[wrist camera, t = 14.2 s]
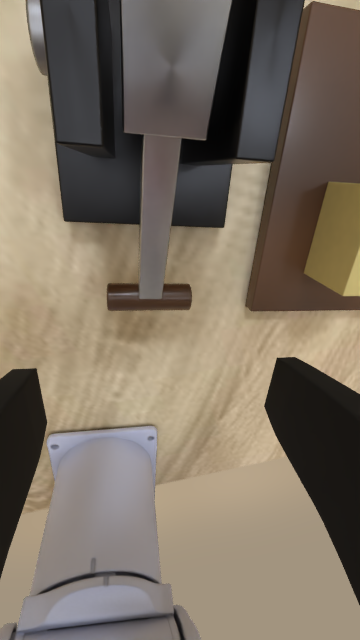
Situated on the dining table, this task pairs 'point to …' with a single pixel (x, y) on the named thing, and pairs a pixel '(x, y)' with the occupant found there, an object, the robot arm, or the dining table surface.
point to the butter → (337, 240)
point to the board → (310, 161)
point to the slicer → (125, 148)
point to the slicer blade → (165, 123)
